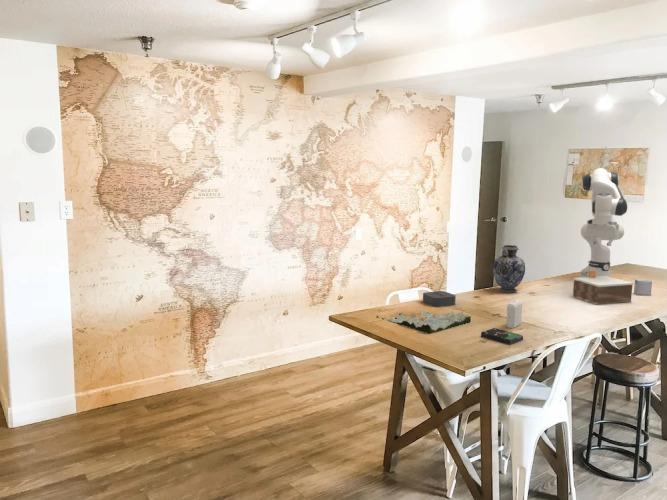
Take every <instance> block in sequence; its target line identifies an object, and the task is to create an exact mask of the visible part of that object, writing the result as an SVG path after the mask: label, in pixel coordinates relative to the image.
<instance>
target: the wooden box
mask: <svg viewBox="0 0 667 500" xmlns="http://www.w3.org/2000/svg"><path fill="white" fill-rule="evenodd" d="M632 292H633V285H622V286H606V287H597V286H594V285H590V284H587V283H583V282H580V281H576V280H573V289H572V297H573V298H576V299H580V300H583V301H586V302H588V303H592V304H595V305H597V306H598V305H611V304H625V303H627V304H628V303H632V297H633V296H632V294H633V293H632Z"/></svg>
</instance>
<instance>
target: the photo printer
mask: <svg viewBox="0 0 667 500" xmlns="http://www.w3.org/2000/svg"><path fill="white" fill-rule="evenodd" d="M506 306H507V307H506V327H507V328H508V329H515V328H516V327H518V326H520V325H521V324H522V315H523V314H522V312H523V311H522V310H523V309H522V308H523V303H522V301H521V300H519V299H513V300H511V301H510V302H509V303H508V304H507V305H506Z"/></svg>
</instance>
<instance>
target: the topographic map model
mask: <svg viewBox="0 0 667 500" xmlns="http://www.w3.org/2000/svg"><path fill="white" fill-rule="evenodd" d="M420 312H421V313H420ZM420 312H418V313H419V314H418V315H422V314H423V315H422V317H423V316H424V318H423V319H425V320H424V322H423V321H421V320H418V319H419V317H417V318H416V316H406V318H405V317H404V314H401V315H398V314H393V315H394V316H395V315H397V316H396V317H395V318H397V317H399V318H397V319H395V320H393V318H394V317H389V318H390V319H389V318H387V317H382V318H381V319H382V320H384V319H389V320H388V322H390V321H391V322H390V323H394V324H397V325H400V326H403V325H404V326H403V327H406V326H407V327H406V328H409V327H410V328H409V329H413V330H417V331H419V332H423V333H426V334H429V335H431V334H435V333H438V332H442V331H446V330H448V329H453V328H456V327H459V325H460V326H464V325H466V323H467V324H470V322H471V320H472V319H471V318H472V316H470V315H468V314H464V313H463V312H458V313H455V312H454V311H451V312H447V313H446V314H445V313H441V316H440V315H434V314H432V313H434V312H430V311H427V312H426V311H420ZM408 317H410V318H408ZM422 317H421V318H422ZM425 317H427V318H425ZM376 318H378V319H380V318H379V315H376ZM427 319H428V320H427ZM463 324H464V325H463ZM452 327H453V328H452Z"/></svg>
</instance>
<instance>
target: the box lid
mask: <svg viewBox="0 0 667 500" xmlns="http://www.w3.org/2000/svg"><path fill="white" fill-rule="evenodd" d="M574 280H576V281H580V282H583V283H587V284H590V285H594V286H597V287H606V286H622V285H632V286H634V283H633V282H631V281H628V280H627V281H626V280H622V279H620V278H615V277H611V276H610V277H608V276H599V277H596V271H594V270H592V271H589V277H582V278H576V277H573V281H574Z"/></svg>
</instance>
